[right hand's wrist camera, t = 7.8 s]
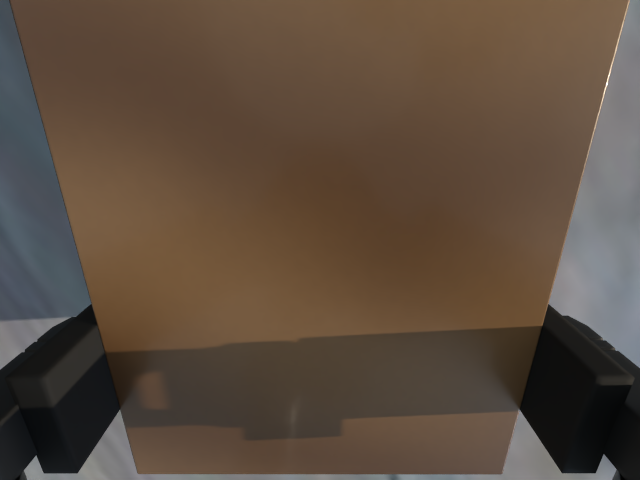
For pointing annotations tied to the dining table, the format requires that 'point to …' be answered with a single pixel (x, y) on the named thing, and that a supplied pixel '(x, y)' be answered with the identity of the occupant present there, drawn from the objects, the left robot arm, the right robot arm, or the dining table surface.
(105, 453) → the dining table surface
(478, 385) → the cabinet
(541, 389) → the right robot arm
